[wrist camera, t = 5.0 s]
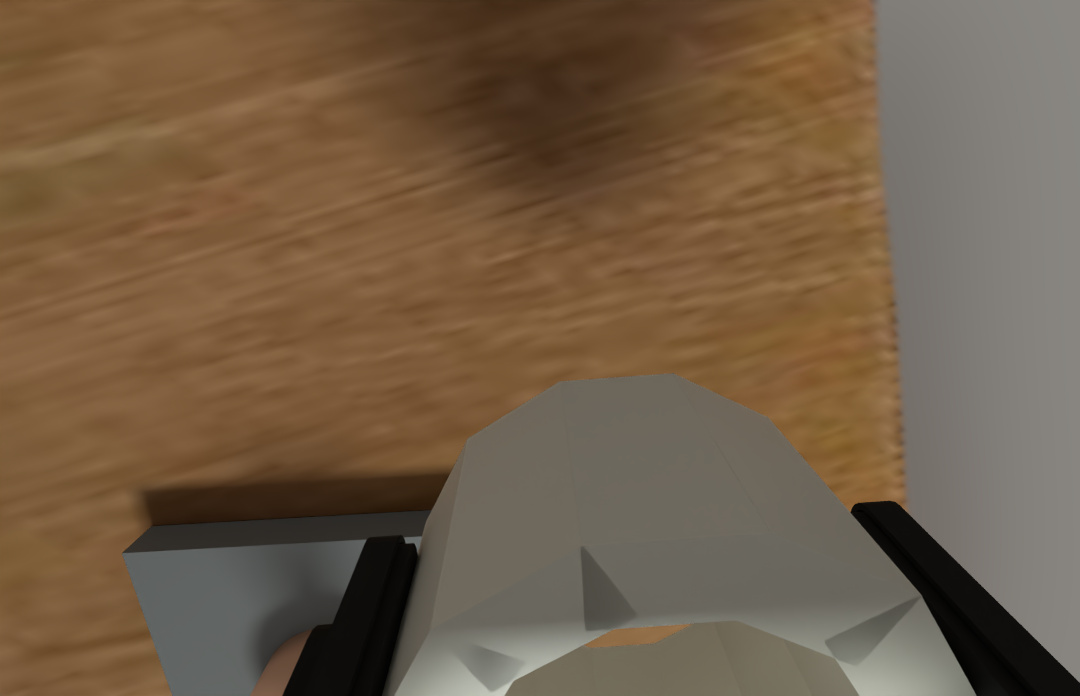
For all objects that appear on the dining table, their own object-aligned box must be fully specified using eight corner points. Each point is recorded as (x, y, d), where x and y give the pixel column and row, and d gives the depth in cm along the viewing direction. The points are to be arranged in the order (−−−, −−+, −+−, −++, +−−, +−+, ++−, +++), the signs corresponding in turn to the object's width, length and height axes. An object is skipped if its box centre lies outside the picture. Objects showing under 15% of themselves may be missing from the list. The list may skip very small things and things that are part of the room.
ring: (404, 392, 9) (321, 563, 6) (828, 361, 9) (1034, 513, 6) (455, 697, 12) (421, 959, 8) (791, 673, 12) (915, 924, 8)
